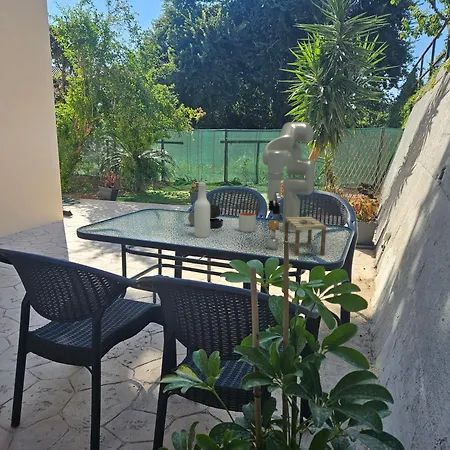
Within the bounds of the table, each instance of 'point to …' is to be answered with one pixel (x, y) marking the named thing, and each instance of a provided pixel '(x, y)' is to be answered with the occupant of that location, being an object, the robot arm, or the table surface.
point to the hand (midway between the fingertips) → (273, 212)
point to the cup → (247, 222)
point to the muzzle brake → (214, 213)
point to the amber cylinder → (273, 235)
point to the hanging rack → (311, 225)
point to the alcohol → (202, 213)
